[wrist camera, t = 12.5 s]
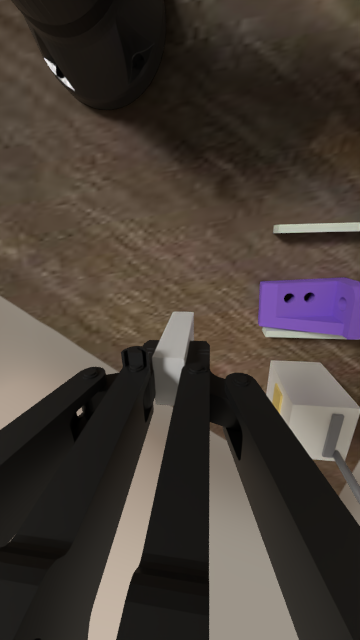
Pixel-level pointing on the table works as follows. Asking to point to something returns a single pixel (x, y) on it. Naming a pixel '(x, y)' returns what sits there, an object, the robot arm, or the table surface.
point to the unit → (315, 411)
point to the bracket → (312, 306)
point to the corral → (300, 229)
